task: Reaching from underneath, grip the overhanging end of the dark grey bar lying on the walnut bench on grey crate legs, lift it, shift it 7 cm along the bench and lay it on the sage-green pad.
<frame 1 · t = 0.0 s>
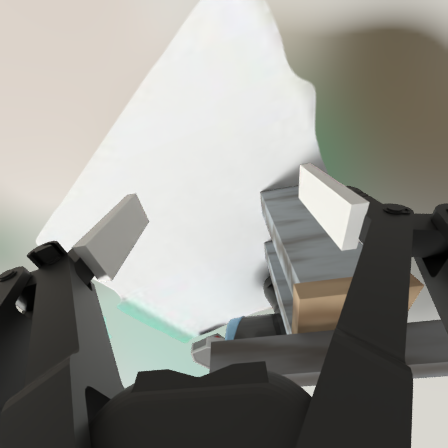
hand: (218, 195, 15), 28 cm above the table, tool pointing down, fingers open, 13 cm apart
dark grey bar: (328, 338, 24), point 30 cm above the table, touching bench
first aid kit: (219, 341, 85), on the table
bench: (281, 226, 50), on the table
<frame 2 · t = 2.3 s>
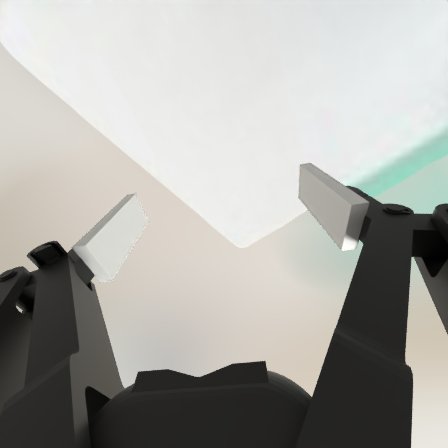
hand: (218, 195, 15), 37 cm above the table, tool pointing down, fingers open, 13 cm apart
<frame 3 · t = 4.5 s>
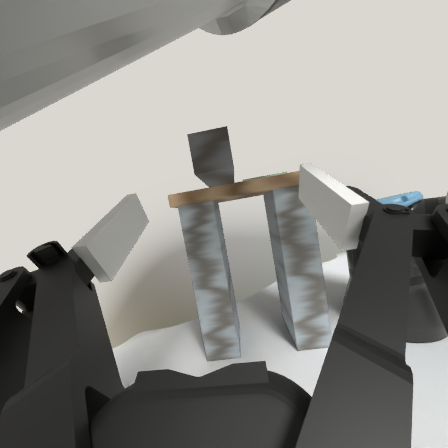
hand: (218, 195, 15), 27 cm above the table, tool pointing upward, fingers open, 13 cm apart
dark grey bar: (223, 188, 33), point 30 cm above the table, touching bench
bench: (264, 334, 37), on the table
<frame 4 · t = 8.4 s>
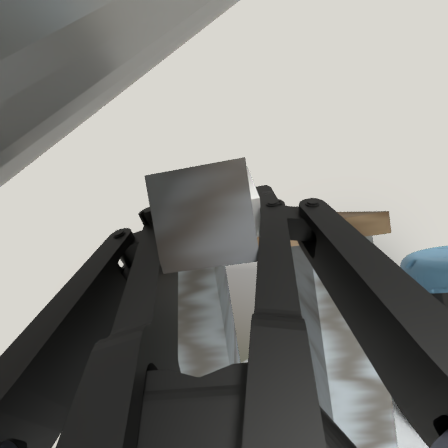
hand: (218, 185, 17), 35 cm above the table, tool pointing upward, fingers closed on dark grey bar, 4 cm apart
dark grey bar: (229, 231, 22), point 30 cm above the table, touching bench, gripper
bench: (285, 442, 25), on the table
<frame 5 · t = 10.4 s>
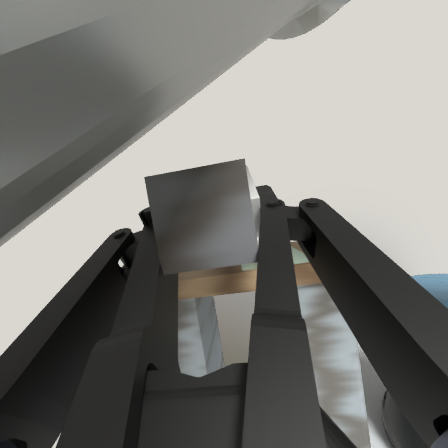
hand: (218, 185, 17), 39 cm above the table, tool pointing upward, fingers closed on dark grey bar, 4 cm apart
dark grey bar: (229, 231, 22), point 34 cm above the table, touching gripper
when the fingers open (36 cm above the table, at t = 12.7 s): dark grey bar drops 1 cm, resting on bench.
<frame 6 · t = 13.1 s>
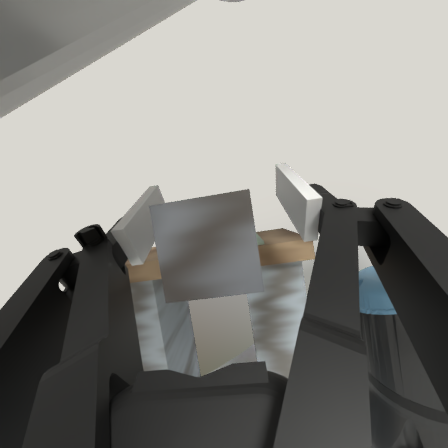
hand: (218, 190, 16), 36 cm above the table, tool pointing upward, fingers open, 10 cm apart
dark grey bar: (230, 241, 22), point 30 cm above the table, touching bench
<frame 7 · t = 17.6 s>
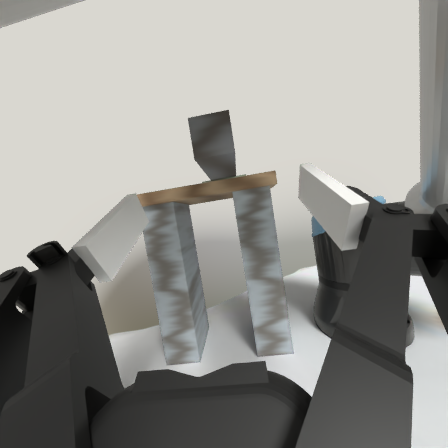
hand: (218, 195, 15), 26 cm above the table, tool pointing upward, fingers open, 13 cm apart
dark grey bar: (225, 181, 33), point 30 cm above the table, touching bench
bench: (229, 339, 37), on the table
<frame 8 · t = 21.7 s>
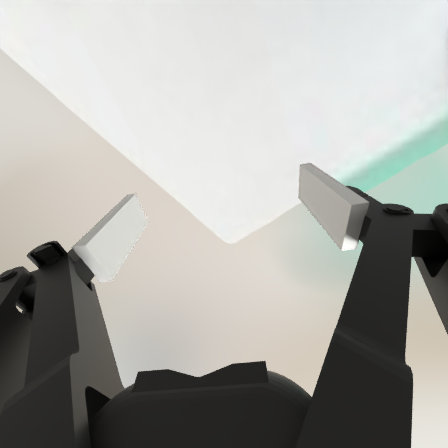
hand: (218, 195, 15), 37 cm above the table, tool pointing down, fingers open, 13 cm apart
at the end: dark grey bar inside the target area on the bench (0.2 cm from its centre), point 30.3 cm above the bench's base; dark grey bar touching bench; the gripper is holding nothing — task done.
